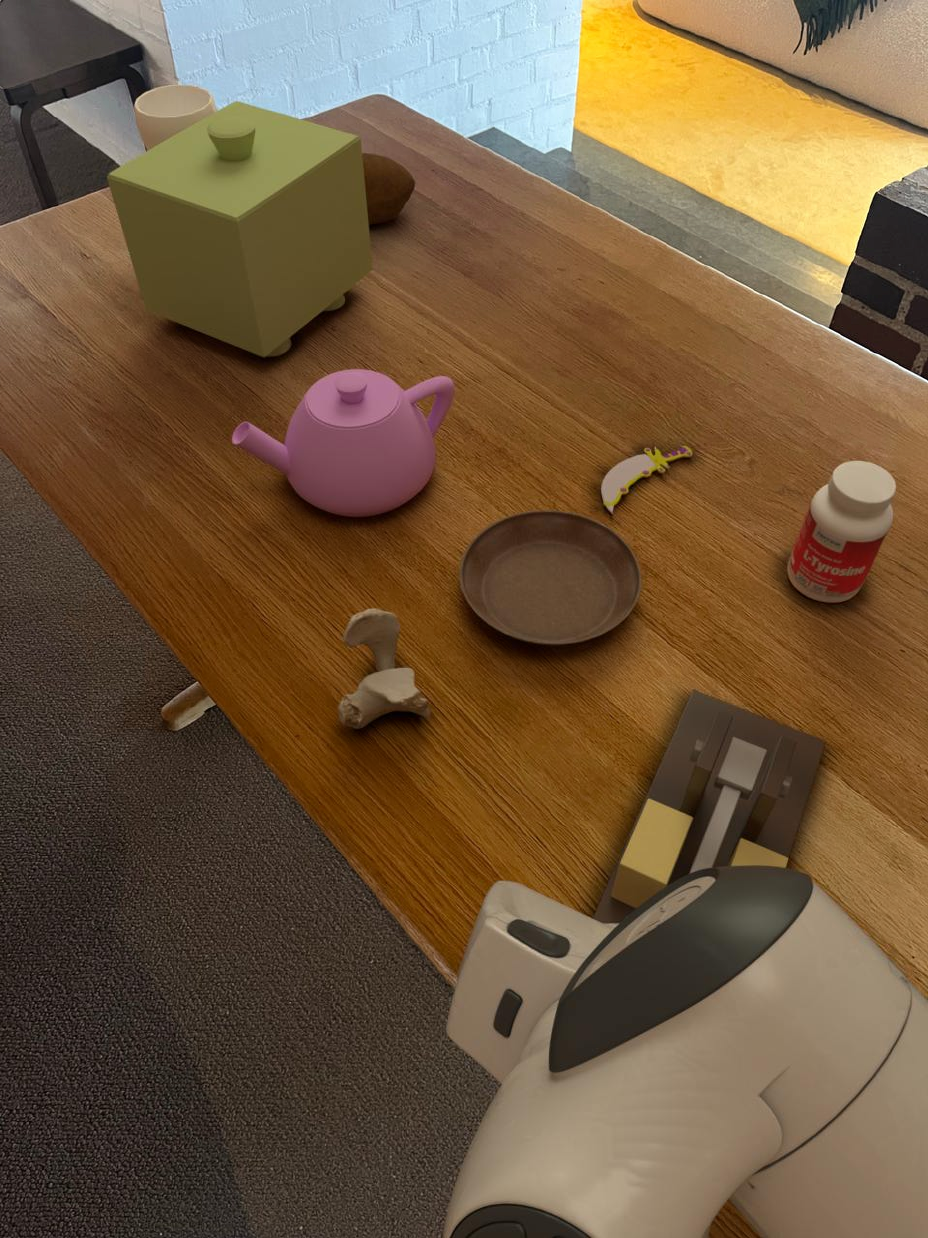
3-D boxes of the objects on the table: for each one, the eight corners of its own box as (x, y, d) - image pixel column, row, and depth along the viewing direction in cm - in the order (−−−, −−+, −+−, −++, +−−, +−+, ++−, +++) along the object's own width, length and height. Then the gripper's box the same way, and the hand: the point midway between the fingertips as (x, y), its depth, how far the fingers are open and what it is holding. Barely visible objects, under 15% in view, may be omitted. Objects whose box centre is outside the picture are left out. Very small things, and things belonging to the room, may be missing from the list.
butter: (769, 891, 62) (789, 857, 58) (746, 960, 59) (765, 929, 55) (637, 833, 64) (648, 797, 61) (610, 897, 62) (619, 863, 58)
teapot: (234, 453, 91) (210, 359, 83) (433, 409, 95) (429, 315, 87) (262, 553, 83) (238, 460, 75) (479, 500, 87) (480, 405, 79)
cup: (181, 218, 119) (147, 80, 107) (252, 222, 118) (226, 84, 106) (157, 256, 114) (118, 116, 101) (230, 262, 113) (200, 120, 100)
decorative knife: (577, 486, 88) (612, 516, 85) (577, 482, 88) (613, 512, 85) (670, 437, 92) (707, 464, 89) (671, 433, 92) (708, 460, 89)
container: (268, 377, 99) (230, 187, 83) (151, 329, 104) (95, 143, 89) (374, 289, 109) (358, 104, 93) (263, 249, 114) (230, 69, 99)
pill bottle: (779, 593, 80) (816, 496, 71) (792, 543, 83) (828, 445, 75) (856, 614, 78) (902, 517, 70) (865, 562, 82) (911, 464, 73)
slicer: (739, 1001, 59) (783, 936, 51) (589, 929, 62) (607, 856, 54) (820, 751, 70) (867, 663, 62) (689, 700, 73) (717, 610, 65)
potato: (309, 213, 120) (300, 151, 114) (401, 193, 123) (398, 131, 117) (330, 245, 115) (322, 181, 109) (425, 223, 118) (423, 160, 112)
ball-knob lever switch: (683, 995, 56) (686, 992, 53) (631, 970, 57) (632, 966, 54) (769, 765, 60) (777, 751, 58) (720, 745, 61) (725, 730, 58)
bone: (414, 767, 68) (341, 664, 63) (349, 765, 72) (276, 668, 67) (465, 682, 73) (402, 581, 68) (402, 685, 77) (338, 590, 72)
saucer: (462, 528, 85) (462, 506, 83) (630, 531, 84) (634, 509, 82) (456, 662, 75) (456, 641, 73) (644, 666, 75) (649, 645, 73)
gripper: (890, 1119, 40) (868, 984, 53) (455, 904, 46) (531, 830, 59) (833, 1245, 41) (825, 1082, 54) (415, 1018, 47) (498, 920, 60)
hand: (669, 949), depth 57 cm, fingers closed on ball-knob lever switch, 3 cm apart
